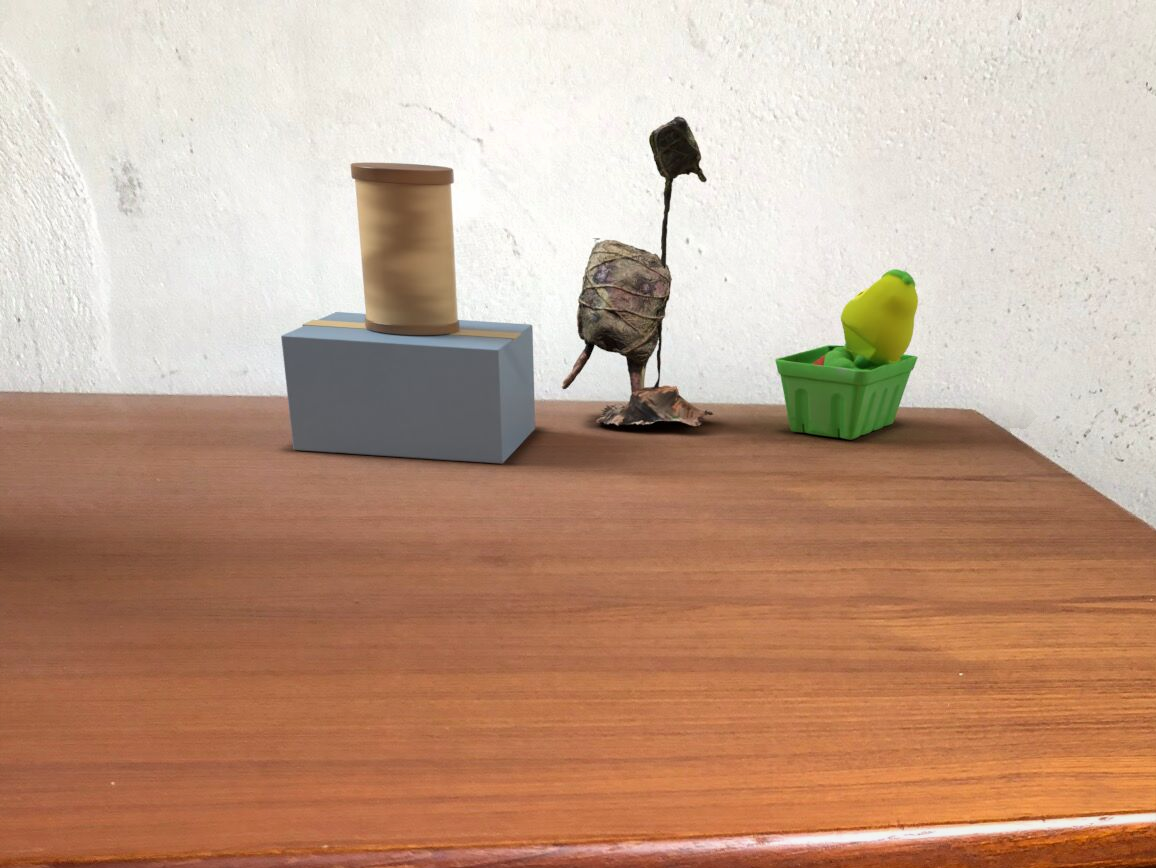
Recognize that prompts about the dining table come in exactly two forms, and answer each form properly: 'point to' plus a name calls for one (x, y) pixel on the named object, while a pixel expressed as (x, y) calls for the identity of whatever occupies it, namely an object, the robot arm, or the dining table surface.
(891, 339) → the fruit basket
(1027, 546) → the dining table surface
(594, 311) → the brown bird sculpture
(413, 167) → the tan lidded canister
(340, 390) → the blue box
